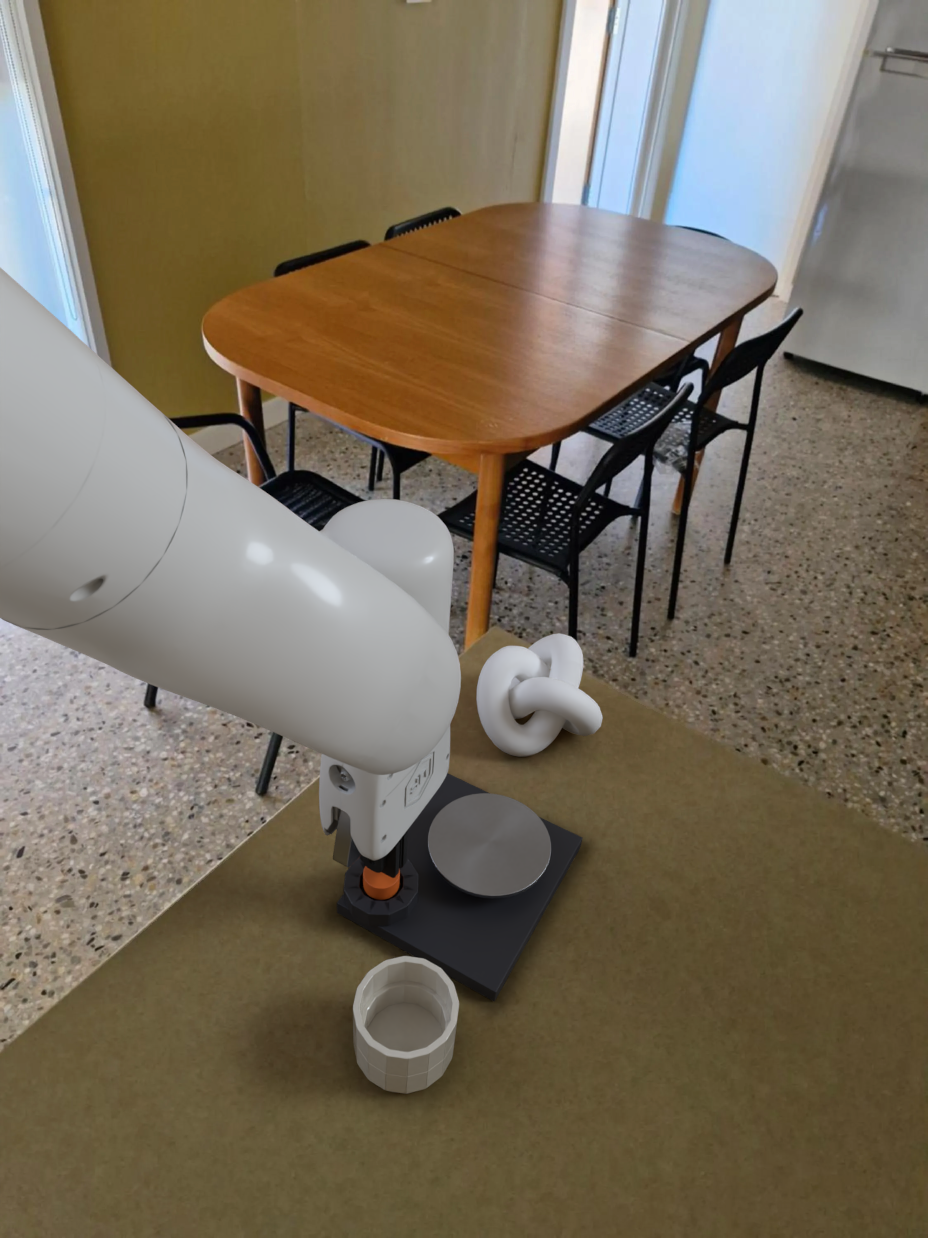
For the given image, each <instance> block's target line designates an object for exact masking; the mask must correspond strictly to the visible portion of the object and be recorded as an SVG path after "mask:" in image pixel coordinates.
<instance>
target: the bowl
mask: <svg viewBox="0 0 928 1238" xmlns="http://www.w3.org/2000/svg"><path fill="white" fill-rule="evenodd" d="M459 1009H460V1001H459V996H458V993H457V990H456V986H455V984H454V982H453V981H452V979H451V977H449V976H448V975H446V973H445V972H444V971H443V970H442V969H441V968H440V967H438V966H437V965H435V964H433V963H431V962H429V961H428V960H426V959H424V958H417V957H414V956H409V955H402V956H397V957H394V958H393V957H392V958H388V959H386V960H383V961H381V962H380V963H379V964H377V965H376V966H374V967H372V968H371V969H370V970H368V971H367V972H366V974H365V975H364V977H363V979H362V980H361V981H360V983H359V984H358V986H357V988H356V990H355V995H354V999H353V1004H352V1034H353V1036H352V1037H353V1038H352V1039H353V1041H352V1042H353V1049H354V1053H355V1060H356V1063H357V1065H358V1067H359V1069H360V1070H361V1071H362V1073H363V1075H364V1076H365V1077H366V1079H367V1080H369V1082H371V1083H373V1084H374V1085H375V1086H378V1087H379V1088H380V1089H382V1090H384V1091H387V1092H391V1093H398V1094H399V1093H400V1094H406V1095H407V1094H411V1093H414V1092H415V1093H416V1092H418V1091H422V1090H426V1089H427V1088H428V1087H430V1086H432V1085H433V1084H434V1083H436V1081H438V1080H439V1079H441V1078H442V1076H444V1073H445V1072H446V1070H447V1068H448V1067H449V1065H450V1063H451V1061H452V1059H453V1056H454V1050H455V1049H454V1048H455V1040H456V1032H457V1024H458V1016H459Z"/></svg>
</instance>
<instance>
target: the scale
mask: <svg viewBox="0 0 928 1238" xmlns="http://www.w3.org/2000/svg"><path fill="white" fill-rule="evenodd" d="M480 793H489V792H488V791H486V790H484V789H482V788H480V787H478V786H476V785H473V784H471V783H469V782H467V781H465V780H463V779H461V778H458V777H457V776H455V775H452V774H451V773H449V772H448V773H447V775H446V777H445V779H444V781H443V783H442V784H441V786H440V787H439V789H438V790H437V791H436V793H435V794H434V795H433V797H432V798H431V800H430V801H429V802H428V804H427V805H426V806H425V808H424V809H423V810H422V812H421V813H420V814H419V816H418V817H417V818H416V819H415V821H414V822H413V823H412V825H411V826H410V827H409V829H408V830H407V832H408V837H407V861H406V863H405V865H404V866H403V867H402V868H399V870H400V883H399V889H398V891H397V892H396V894H395V895H393V896H392V897H390V898H388V899H385V900H377V899H374V898H371V897H370V896H369V895H368V894H367V893H366V892H365V890H364V887H363V871H364V868H365V865H364V863H363V862H362V861H361V860H360V857H359V858H358V859H357V860H356V861H355V862H354V863H353V864H352V865H351V866H350V867H349V868H348V869H347V870H346V871H345V873H344V880H343V881H344V882H343V894H342V895H341V896H340V898H339V899H338V900H337V901H336V913H337V914H338V915H340V916H342V917H344V918H345V919H347V920H349V921H351V922H353V923H354V924H356V925H358V926H360V927H361V928H363V929H364V930H366V931H368V932H370V933H372V934H374V935H375V936H377V937H379V938H381V939H382V940H384V941H386V942H388V943H390V944H391V945H393V946H395V947H396V948H398V949H400V950H402V951H403V952H405V953H407V954H409V955H411V957H417V958H424V959H426V960H428V961H429V962H431V963H433V964H435V965H437V966H438V967H440V968H441V969H442V970H443V971H444V972H445V973H446V975H447V976H448V977H449V978H450V979H452V980H454V981H456V982H458V983H460V984H462V985H464V986H466V987H467V988H469V989H470V990H472V991H474V992H475V993H477V994H479V995H481V996H483V997H484V998H487V999H488V1000H489V1001H492V1002H496V1000H497V998H498V996H499V995H500V993H501V991H502V989H503V987H504V986H505V984H506V982H507V980H508V979H509V977H510V975H511V973H512V971H513V969H514V967H515V966H516V963H517V962H518V960H519V958H520V957H521V955H522V953H523V951H524V950H525V948H526V946H527V944H528V942H529V940H530V939H531V937H532V936H533V933H534V932H535V930H536V928H537V927H538V925H539V923H540V921H541V919H542V917H543V916H544V914H545V912H546V910H547V909H548V906H549V905H550V903H551V901H552V899H553V898H554V896H555V894H556V892H557V891H558V889H559V887H560V885H561V883H562V882H563V879H564V878H565V876H566V874H567V872H568V871H569V869H570V868H571V866H572V864H573V862H574V860H575V858H576V856H577V855H578V853H579V851H580V849H581V847H582V843H583V840H584V839H583V837H582V836H580V835H579V834H576V833H574V832H572V831H570V830H568V829H565V828H563V827H561V826H560V825H558V824H556V823H553V822H551V821H549V820H546V819H545V818H543V817H541V816H538V817H539V818H540V819H541V820H542V822H543V823H544V825H545V827H546V829H547V831H548V834H549V837H550V842H551V855H550V860H549V864H548V867H547V869H546V871H545V873H544V874H543V876H542V877H541V878H540V879H539V880H538V881H537V883H535V884H534V885H533V886H532V887H530V888H529V889H527V890H525V891H524V892H522V893H519V894H517V895H513V896H510V897H505V898H482V897H477V896H473V895H470V894H467V893H465V892H462V891H460V890H458V889H457V888H455V887H453V886H452V885H451V884H449V883H448V882H447V881H445V879H444V878H443V877H442V876H441V875H440V874H439V873H438V872H437V870H436V869H435V867H434V865H433V863H432V861H431V859H430V856H429V851H428V833H429V830H430V826H431V824H432V822H433V820H434V818H435V817H436V815H437V814H438V813H439V812H440V811H441V810H442V809H443V808H444V807H445V806H446V805H448V804H449V803H451V802H453V801H455V800H457V799H459V798H461V797H464V796H468V795H472V794H480Z"/></svg>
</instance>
